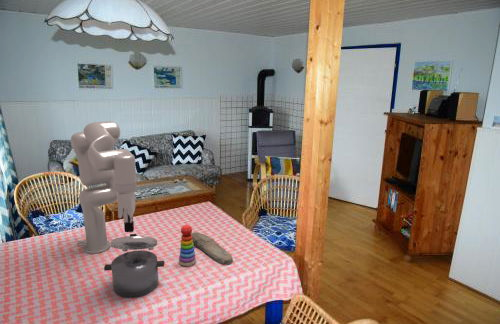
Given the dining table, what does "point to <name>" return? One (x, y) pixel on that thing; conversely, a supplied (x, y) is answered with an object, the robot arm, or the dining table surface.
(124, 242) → the cooker lid
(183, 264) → the stacking toy
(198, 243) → the elongated rock
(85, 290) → the dining table surface
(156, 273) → the cooker pot
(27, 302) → the dining table surface
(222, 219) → the dining table surface
